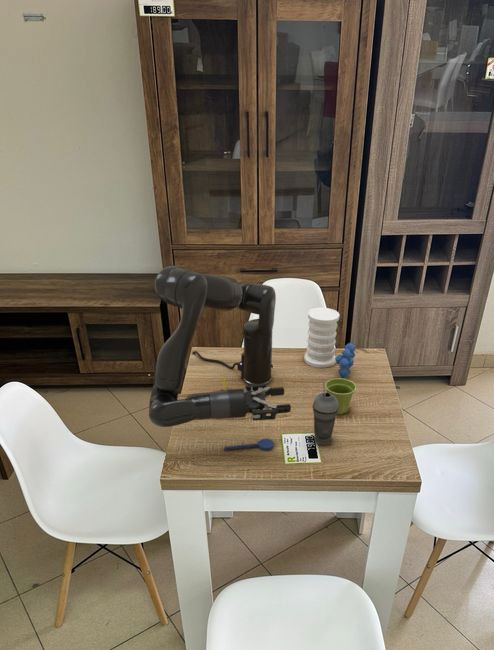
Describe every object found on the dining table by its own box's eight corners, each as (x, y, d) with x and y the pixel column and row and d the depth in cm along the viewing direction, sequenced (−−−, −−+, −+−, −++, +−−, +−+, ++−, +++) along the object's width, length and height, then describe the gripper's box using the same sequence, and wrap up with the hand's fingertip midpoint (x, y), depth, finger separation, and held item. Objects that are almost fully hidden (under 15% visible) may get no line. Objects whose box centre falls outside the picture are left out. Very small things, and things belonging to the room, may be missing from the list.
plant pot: (351, 419, 165) (354, 395, 161) (320, 415, 167) (323, 391, 162) (354, 403, 173) (357, 380, 168) (325, 399, 174) (327, 376, 170)
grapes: (338, 366, 194) (341, 335, 187) (356, 370, 192) (360, 339, 185) (328, 381, 184) (331, 349, 178) (347, 385, 182) (351, 353, 176)
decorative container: (302, 352, 201) (305, 307, 191) (333, 352, 202) (337, 307, 192) (305, 367, 191) (308, 320, 182) (338, 367, 192) (343, 320, 183)
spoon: (225, 454, 149) (225, 451, 148) (223, 444, 152) (223, 442, 152) (275, 449, 151) (275, 447, 151) (272, 440, 155) (272, 437, 154)
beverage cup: (327, 451, 152) (333, 390, 141) (305, 442, 155) (309, 381, 144) (339, 438, 157) (346, 378, 146) (317, 430, 160) (322, 370, 149)
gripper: (230, 407, 135) (293, 401, 138) (223, 378, 146) (282, 374, 149) (230, 431, 139) (292, 425, 142) (224, 401, 150) (281, 396, 154)
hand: (287, 399), depth 146 cm, fingers open, 8 cm apart
